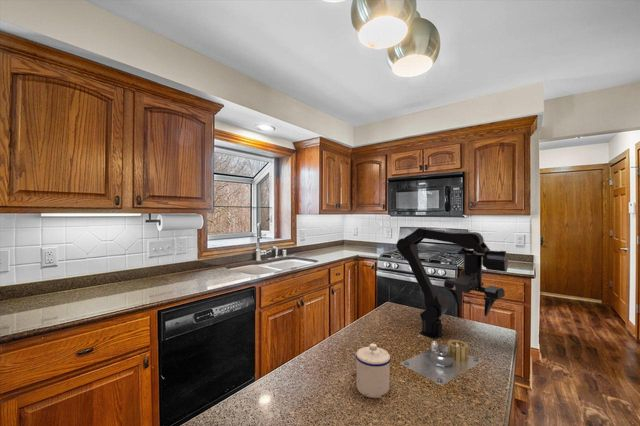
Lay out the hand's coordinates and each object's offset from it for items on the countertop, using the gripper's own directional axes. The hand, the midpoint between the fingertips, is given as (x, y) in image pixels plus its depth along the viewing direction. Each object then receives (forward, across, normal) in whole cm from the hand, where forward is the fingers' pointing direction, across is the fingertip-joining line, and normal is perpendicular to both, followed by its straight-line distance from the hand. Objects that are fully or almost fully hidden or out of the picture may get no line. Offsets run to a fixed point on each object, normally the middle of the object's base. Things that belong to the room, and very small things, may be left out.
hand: (472, 312), depth 103 cm
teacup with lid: (+12, -4, -47) cm, 49 cm away
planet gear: (+11, +2, -13) cm, 17 cm away
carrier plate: (+12, +1, -20) cm, 24 cm away
